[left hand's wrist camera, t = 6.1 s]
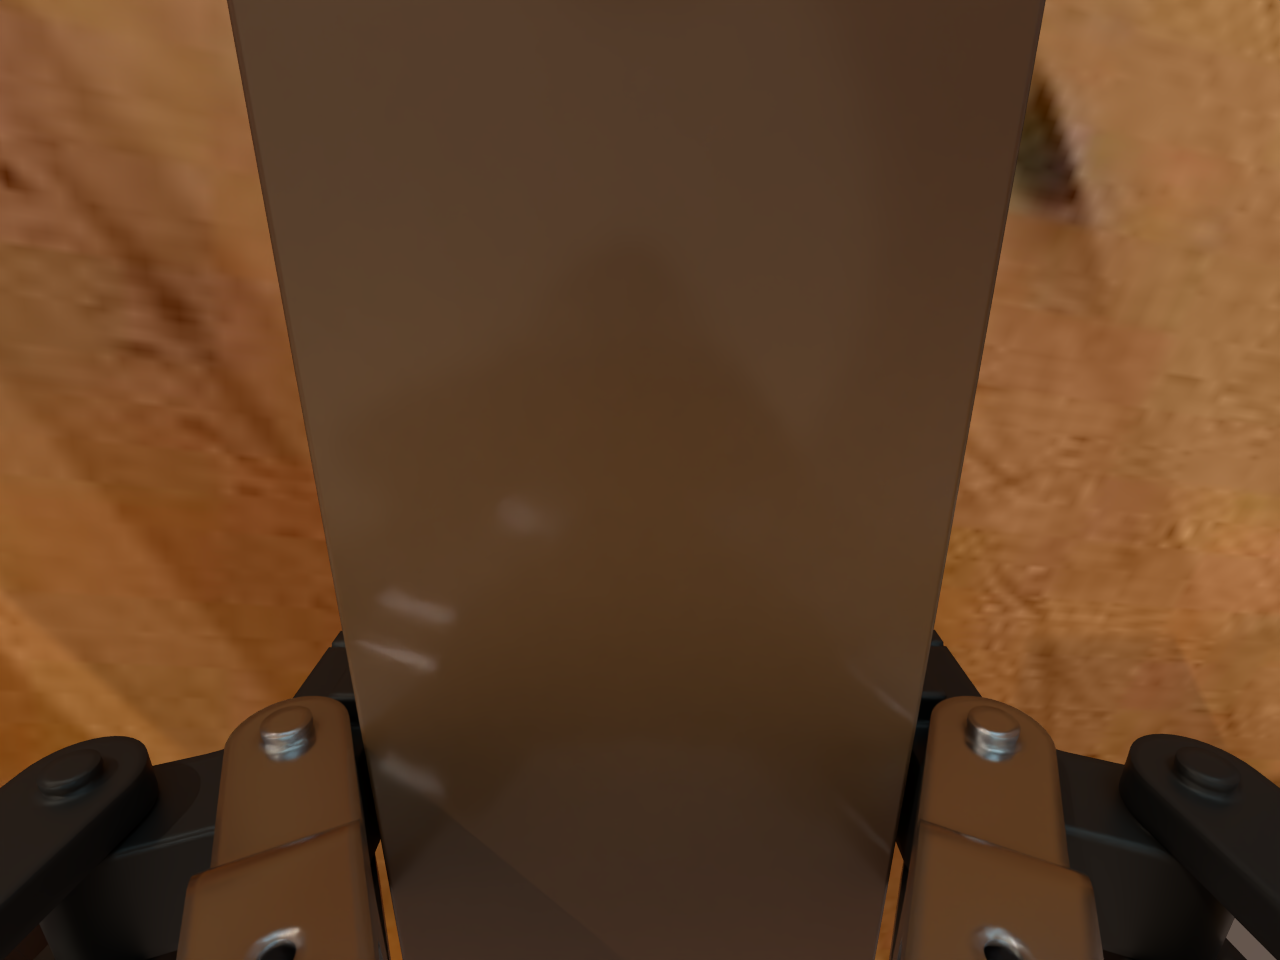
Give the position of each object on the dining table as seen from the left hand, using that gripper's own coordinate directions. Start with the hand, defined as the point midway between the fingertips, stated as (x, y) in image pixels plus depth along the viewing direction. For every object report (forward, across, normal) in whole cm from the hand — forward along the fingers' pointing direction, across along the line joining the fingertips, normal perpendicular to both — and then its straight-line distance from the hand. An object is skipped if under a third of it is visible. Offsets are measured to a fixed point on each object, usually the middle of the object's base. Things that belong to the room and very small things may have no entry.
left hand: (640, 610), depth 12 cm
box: (+5, 0, +7) cm, 9 cm away
